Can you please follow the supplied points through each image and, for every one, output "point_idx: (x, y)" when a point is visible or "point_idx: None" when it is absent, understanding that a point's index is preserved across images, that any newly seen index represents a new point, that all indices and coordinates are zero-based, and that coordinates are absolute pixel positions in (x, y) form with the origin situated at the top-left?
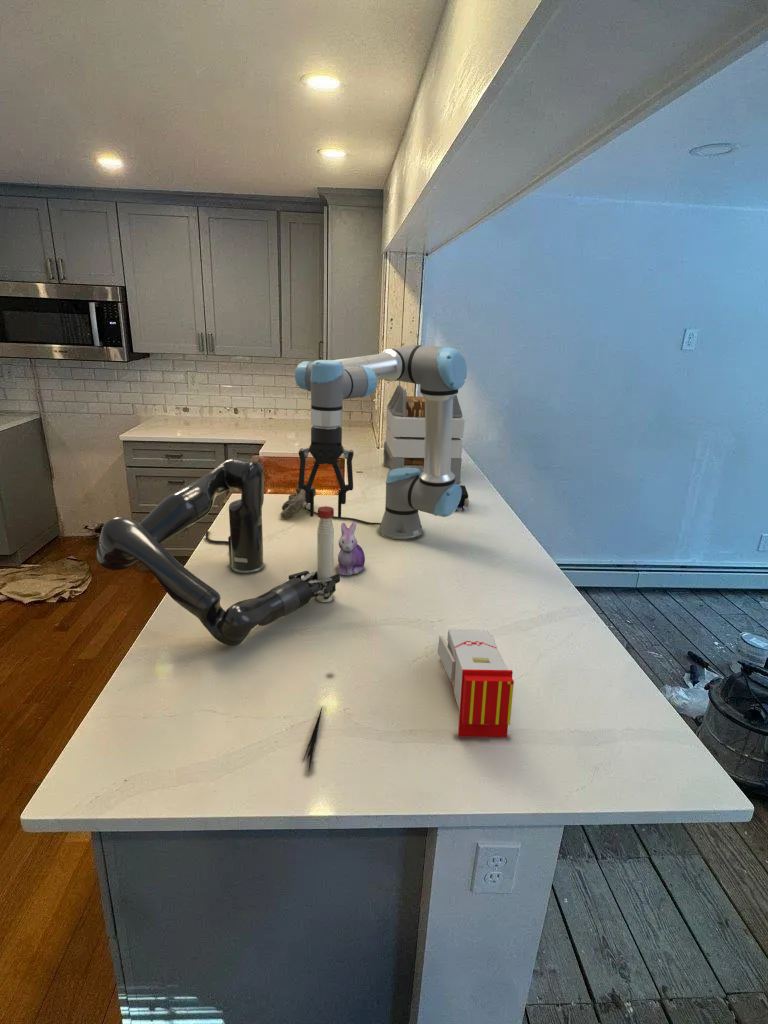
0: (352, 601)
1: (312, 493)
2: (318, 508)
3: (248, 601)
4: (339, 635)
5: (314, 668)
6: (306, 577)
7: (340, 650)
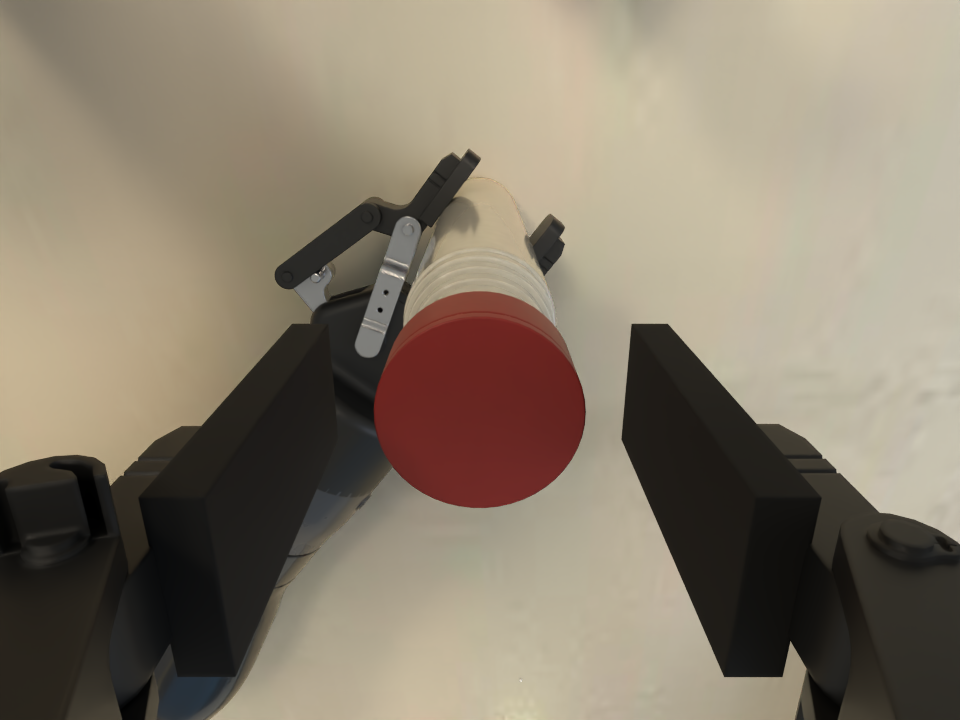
0: (610, 239)
1: (233, 661)
2: (380, 403)
3: (172, 660)
4: (547, 493)
5: (472, 649)
6: (379, 313)
7: (550, 571)
